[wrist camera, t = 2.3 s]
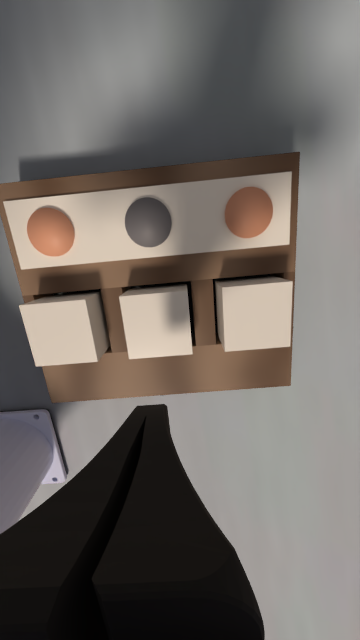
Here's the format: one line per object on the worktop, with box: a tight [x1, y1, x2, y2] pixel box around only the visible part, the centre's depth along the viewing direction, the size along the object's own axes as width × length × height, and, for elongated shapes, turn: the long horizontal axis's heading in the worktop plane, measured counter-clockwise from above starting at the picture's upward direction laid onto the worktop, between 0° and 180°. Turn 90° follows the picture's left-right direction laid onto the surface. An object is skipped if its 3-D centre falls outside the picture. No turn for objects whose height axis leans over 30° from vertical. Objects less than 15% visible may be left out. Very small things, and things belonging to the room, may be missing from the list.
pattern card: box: [3, 171, 292, 270], centre depth 15 cm, size 17×4×1 cm, turn 95°
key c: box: [215, 276, 293, 352], centre depth 16 cm, size 4×4×3 cm
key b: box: [119, 284, 193, 359], centre depth 16 cm, size 4×4×3 cm
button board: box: [0, 152, 300, 403], centre depth 17 cm, size 18×15×2 cm
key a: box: [19, 291, 111, 367], centre depth 16 cm, size 4×4×3 cm
